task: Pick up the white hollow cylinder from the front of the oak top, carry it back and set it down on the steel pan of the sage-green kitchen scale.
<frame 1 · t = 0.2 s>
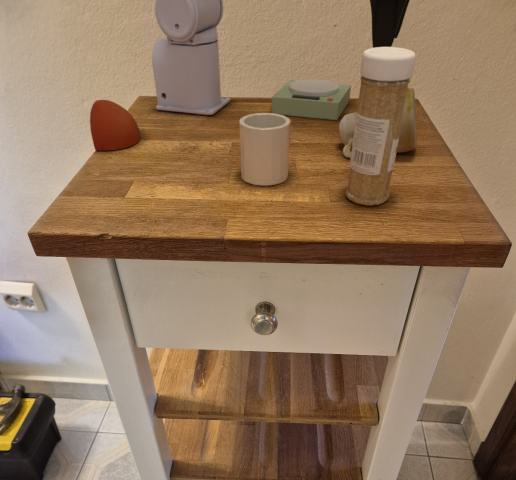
hand: (385, 43, 60), 10 cm above the worktop, tool pointing down, fingers open, 7 cm apart
kitchen scale: (311, 107, 73), on the worktop
white hollow cylinder: (264, 175, 54), on the worktop
mug: (375, 151, 60), on the worktop
sprinkles bottle: (365, 199, 50), on the worktop
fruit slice: (127, 110, 60), point 4 cm above the worktop
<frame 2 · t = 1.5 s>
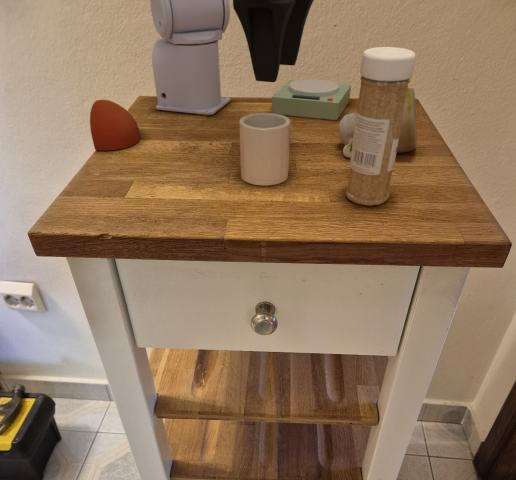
hand: (276, 72, 51), 9 cm above the worktop, tool pointing down, fingers open, 7 cm apart
nothing on the worktop moved.
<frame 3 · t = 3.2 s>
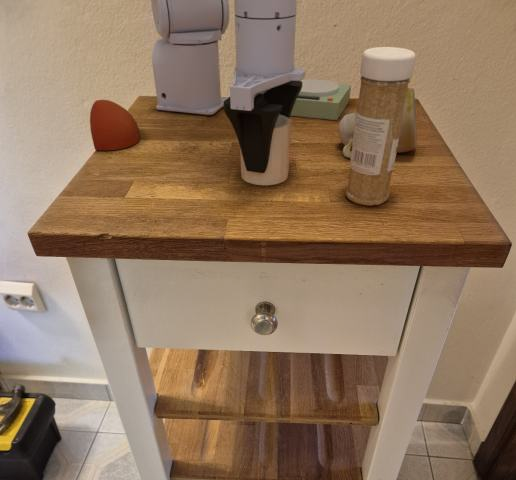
hand: (264, 161, 53), 2 cm above the worktop, tool pointing down, fingers closed on white hollow cylinder, 5 cm apart
white hollow cylinder: (264, 175, 54), on the worktop, touching gripper
everything else where it was.
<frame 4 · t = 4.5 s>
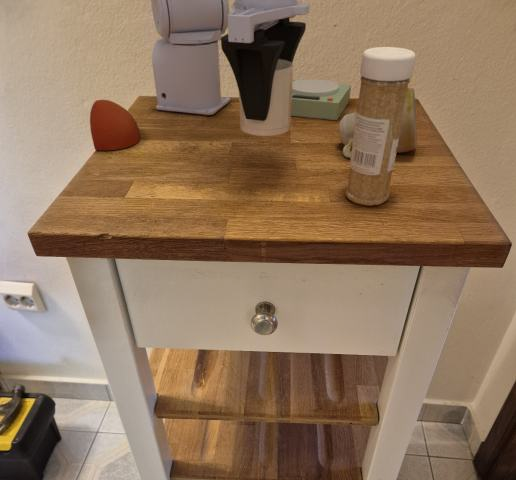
hand: (265, 110, 49), 7 cm above the worktop, tool pointing down, fingers closed on white hollow cylinder, 5 cm apart
white hollow cylinder: (265, 127, 51), point 5 cm above the worktop, touching gripper
everything else where it was.
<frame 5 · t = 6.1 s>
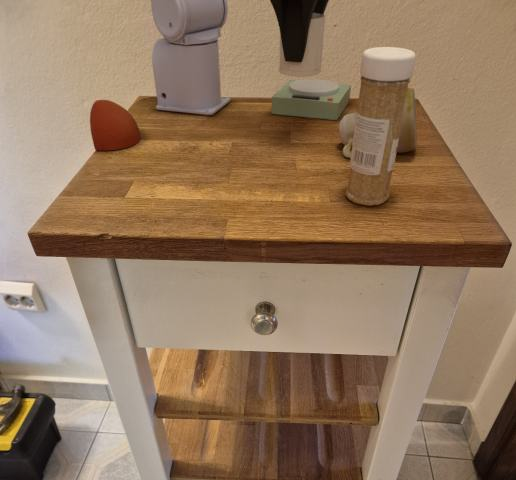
hand: (299, 56, 60), 9 cm above the worktop, tool pointing down, fingers closed on white hollow cylinder, 5 cm apart
white hollow cylinder: (299, 71, 61), point 7 cm above the worktop, touching gripper
everything else where it was.
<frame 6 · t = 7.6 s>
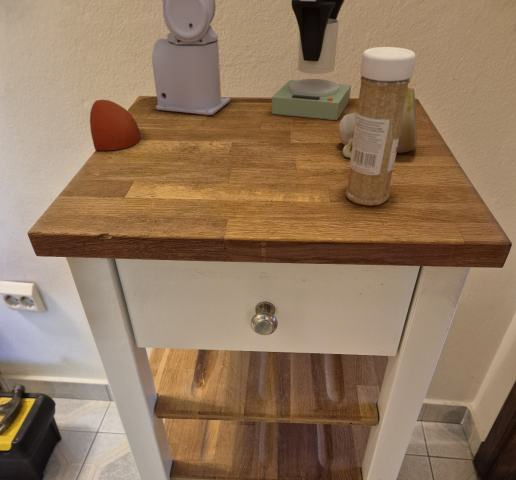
hand: (315, 56, 69), 7 cm above the worktop, tool pointing down, fingers closed on white hollow cylinder, 5 cm apart
white hollow cylinder: (315, 69, 70), point 5 cm above the worktop, touching gripper
everything else where it was.
when the fingers open (5 cm above the worktop, at t = 8.9 s): white hollow cylinder stays where it is, resting on kitchen scale.
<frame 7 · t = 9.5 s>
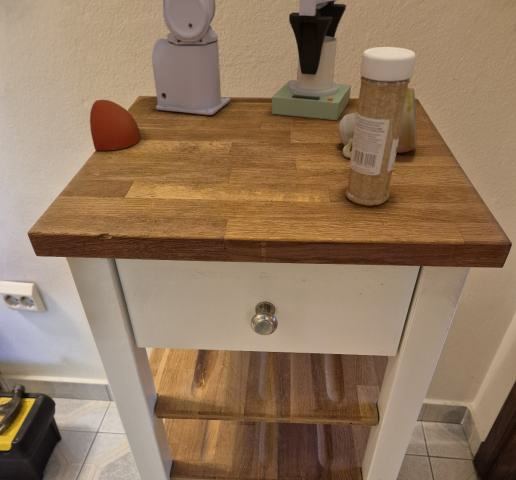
hand: (315, 67, 70), 5 cm above the worktop, tool pointing down, fingers open, 7 cm apart
white hollow cylinder: (314, 85, 71), point 3 cm above the worktop, touching kitchen scale
everything else where it was.
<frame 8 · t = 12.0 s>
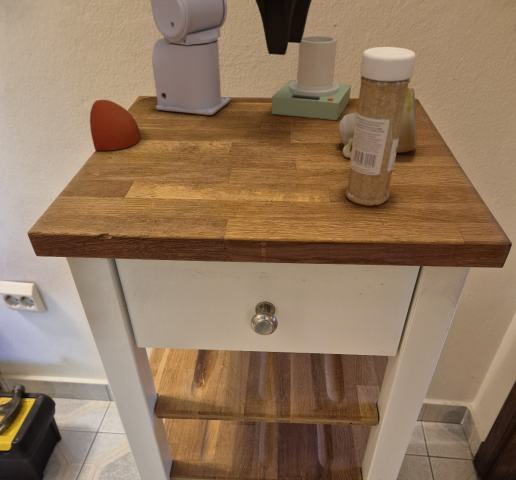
hand: (285, 48, 61), 9 cm above the worktop, tool pointing down, fingers open, 7 cm apart
nothing on the worktop moved.
at the end: white hollow cylinder 0.1 cm off-centre on the kitchen scale, point 3.0 cm above the kitchen scale's base; white hollow cylinder tilted 0°; the gripper is holding nothing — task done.
